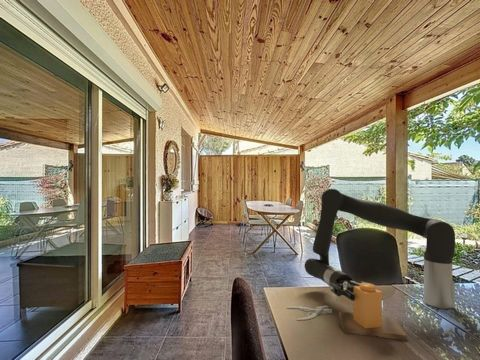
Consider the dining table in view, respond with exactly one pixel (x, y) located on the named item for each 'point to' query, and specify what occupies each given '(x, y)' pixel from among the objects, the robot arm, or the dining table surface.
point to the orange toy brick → (367, 305)
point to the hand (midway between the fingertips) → (365, 297)
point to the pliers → (316, 311)
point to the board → (387, 330)
